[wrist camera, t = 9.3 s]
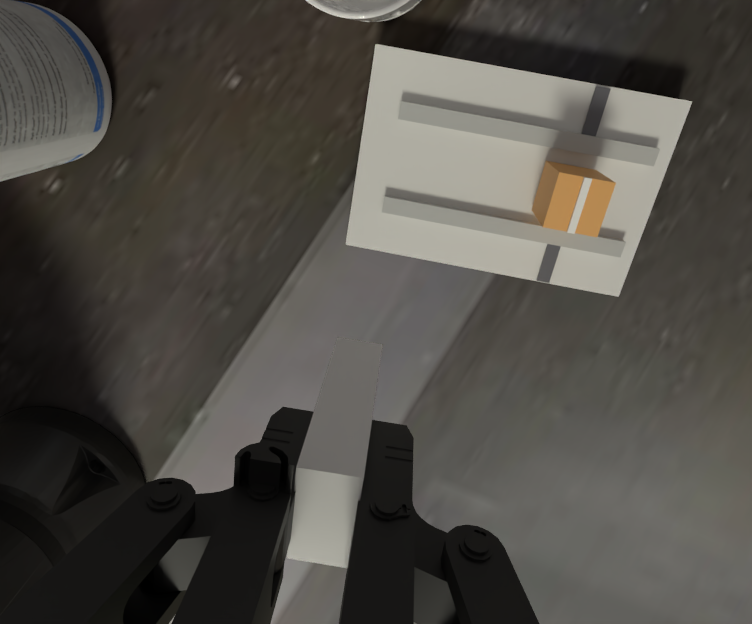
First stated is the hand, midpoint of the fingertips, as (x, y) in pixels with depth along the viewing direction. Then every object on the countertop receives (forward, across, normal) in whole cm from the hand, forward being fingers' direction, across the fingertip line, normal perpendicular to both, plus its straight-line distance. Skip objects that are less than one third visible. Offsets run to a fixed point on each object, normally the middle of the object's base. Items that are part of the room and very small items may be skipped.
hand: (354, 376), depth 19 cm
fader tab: (+18, +10, +4) cm, 21 cm away
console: (+21, +7, +4) cm, 22 cm away
